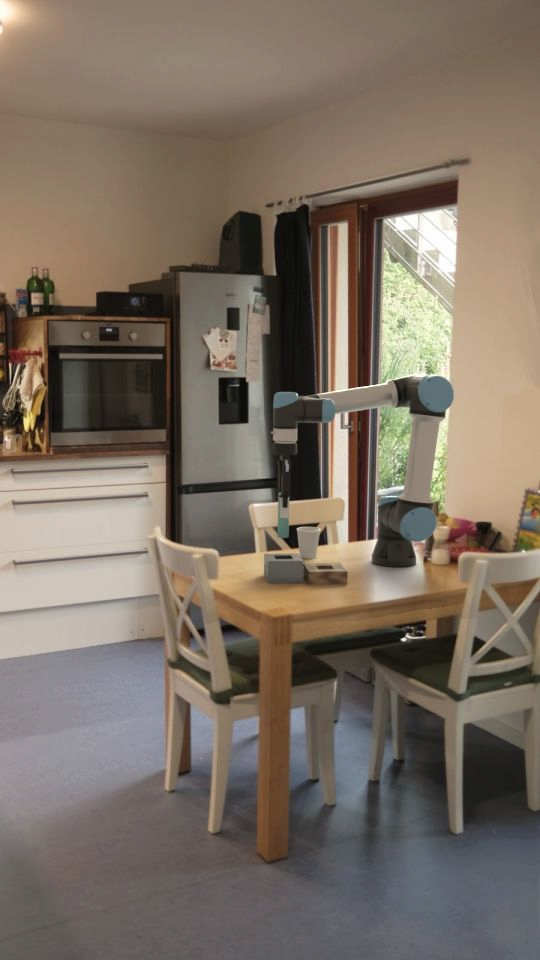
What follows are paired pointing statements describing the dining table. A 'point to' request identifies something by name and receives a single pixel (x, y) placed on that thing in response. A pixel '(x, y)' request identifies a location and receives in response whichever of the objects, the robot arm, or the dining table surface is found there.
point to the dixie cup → (308, 541)
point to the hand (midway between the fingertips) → (283, 516)
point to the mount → (324, 573)
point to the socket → (283, 568)
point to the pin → (282, 523)
